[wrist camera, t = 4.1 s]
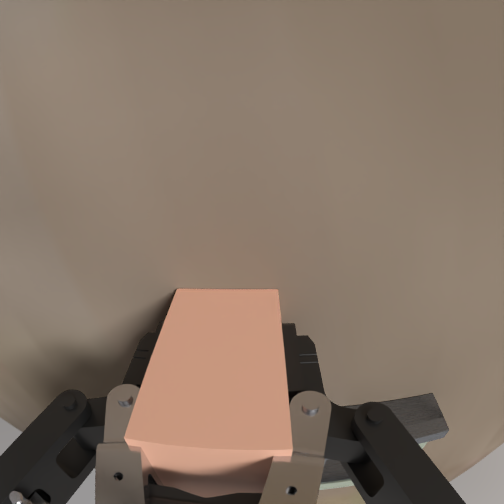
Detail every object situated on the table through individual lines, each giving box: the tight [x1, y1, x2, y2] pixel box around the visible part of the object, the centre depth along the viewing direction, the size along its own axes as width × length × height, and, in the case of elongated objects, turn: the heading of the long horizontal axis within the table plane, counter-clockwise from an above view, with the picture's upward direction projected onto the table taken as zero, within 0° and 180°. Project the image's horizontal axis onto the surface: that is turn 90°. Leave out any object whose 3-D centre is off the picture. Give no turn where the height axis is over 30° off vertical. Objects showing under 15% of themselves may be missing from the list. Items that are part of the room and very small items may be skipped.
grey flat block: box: [319, 393, 449, 490], centre depth 16 cm, size 8×15×3 cm, turn 91°
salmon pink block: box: [124, 289, 293, 498], centre depth 10 cm, size 4×4×7 cm
